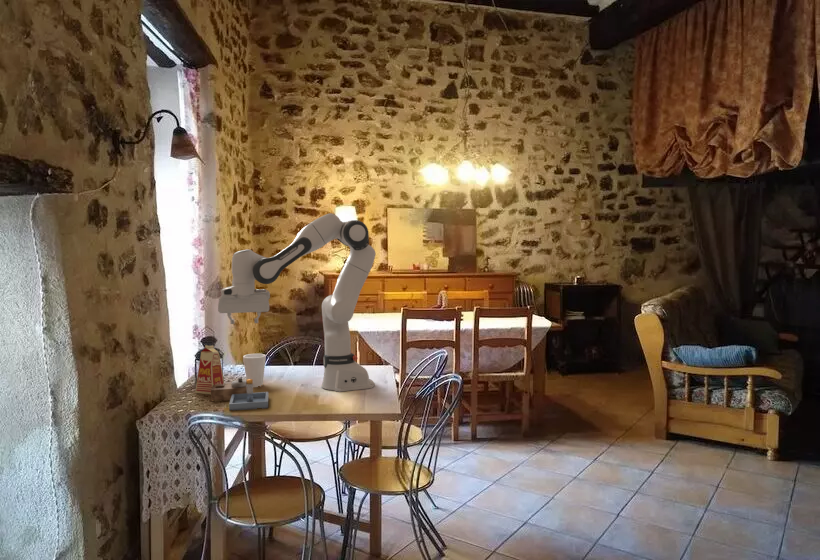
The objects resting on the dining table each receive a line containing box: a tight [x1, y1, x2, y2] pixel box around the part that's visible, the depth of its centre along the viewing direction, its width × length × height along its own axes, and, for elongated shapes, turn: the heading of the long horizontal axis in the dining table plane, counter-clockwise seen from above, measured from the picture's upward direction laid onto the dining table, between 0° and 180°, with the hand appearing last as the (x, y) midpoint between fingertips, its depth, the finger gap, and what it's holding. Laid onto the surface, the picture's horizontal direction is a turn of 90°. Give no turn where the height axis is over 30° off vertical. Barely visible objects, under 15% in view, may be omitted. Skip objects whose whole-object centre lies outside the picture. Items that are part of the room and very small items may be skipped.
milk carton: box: [194, 344, 225, 395], centre depth 250 cm, size 9×9×20 cm
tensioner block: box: [210, 377, 247, 402], centre depth 241 cm, size 14×8×8 cm, turn 102°
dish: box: [228, 391, 270, 412], centre depth 231 cm, size 14×14×2 cm
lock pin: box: [245, 379, 254, 402], centre depth 231 cm, size 2×2×9 cm
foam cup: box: [242, 353, 267, 388], centre depth 259 cm, size 10×9×13 cm
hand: (244, 323), depth 245 cm, fingers open, 8 cm apart
